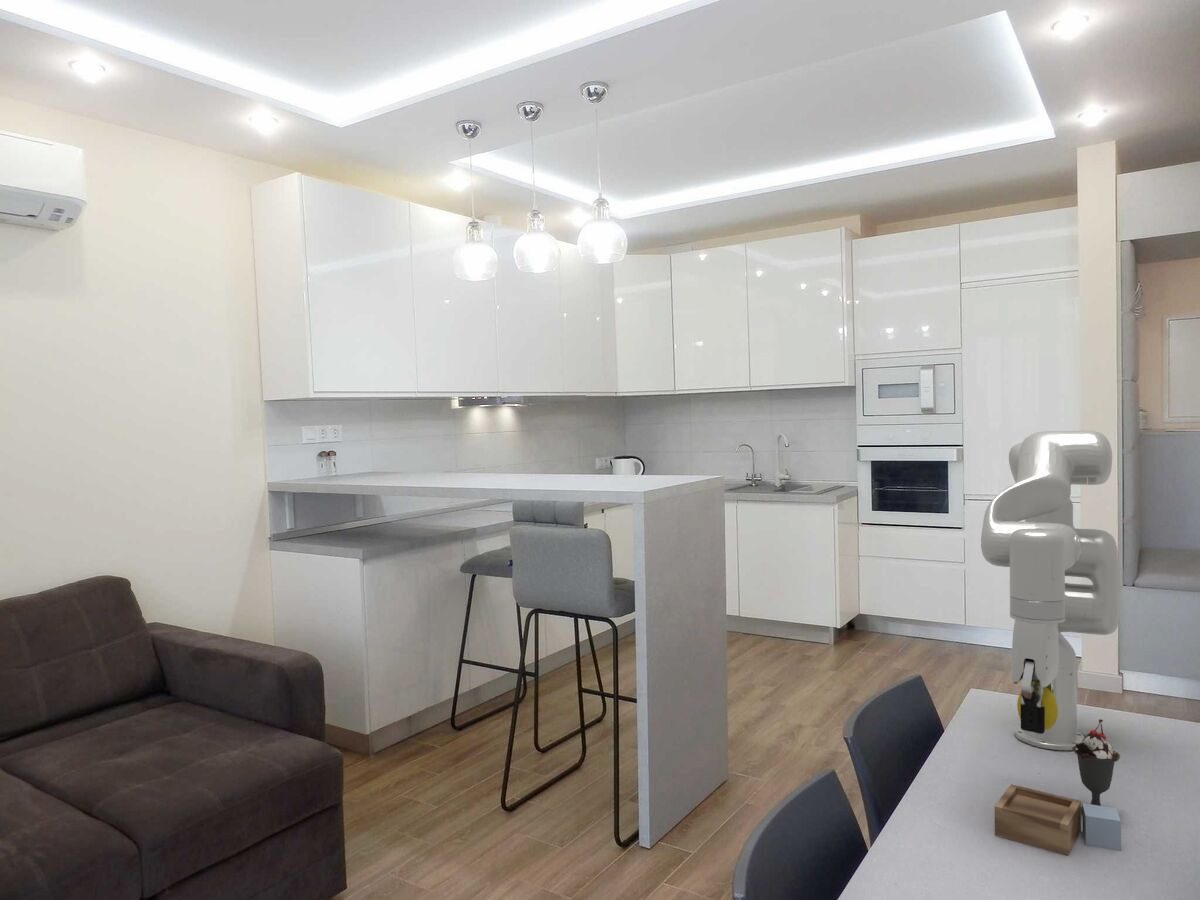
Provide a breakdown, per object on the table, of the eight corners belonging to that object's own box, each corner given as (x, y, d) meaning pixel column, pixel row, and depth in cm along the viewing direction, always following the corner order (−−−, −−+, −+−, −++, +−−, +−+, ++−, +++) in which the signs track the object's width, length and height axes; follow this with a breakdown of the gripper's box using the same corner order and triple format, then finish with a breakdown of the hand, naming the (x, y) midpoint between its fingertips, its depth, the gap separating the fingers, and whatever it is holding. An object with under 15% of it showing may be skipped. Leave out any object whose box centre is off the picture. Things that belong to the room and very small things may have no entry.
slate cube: (1082, 831, 128) (1082, 803, 128) (1116, 837, 126) (1116, 808, 126) (1085, 845, 124) (1085, 815, 124) (1120, 851, 122) (1120, 821, 122)
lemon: (1063, 741, 124) (1063, 688, 124) (1023, 739, 125) (1023, 686, 125) (1050, 728, 130) (1050, 677, 129) (1012, 726, 131) (1012, 676, 131)
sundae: (1113, 807, 136) (1113, 716, 135) (1125, 825, 129) (1124, 731, 129) (1068, 801, 138) (1068, 713, 137) (1077, 820, 131) (1076, 726, 131)
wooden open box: (1011, 811, 135) (1011, 784, 135) (1081, 829, 128) (1081, 801, 128) (994, 835, 127) (994, 806, 127) (1068, 855, 121) (1067, 825, 121)
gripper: (1024, 597, 136) (1024, 705, 136) (995, 616, 123) (996, 736, 123) (1075, 602, 131) (1076, 715, 132) (1052, 622, 118) (1052, 748, 118)
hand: (1037, 724), depth 127 cm, fingers closed on lemon, 5 cm apart
